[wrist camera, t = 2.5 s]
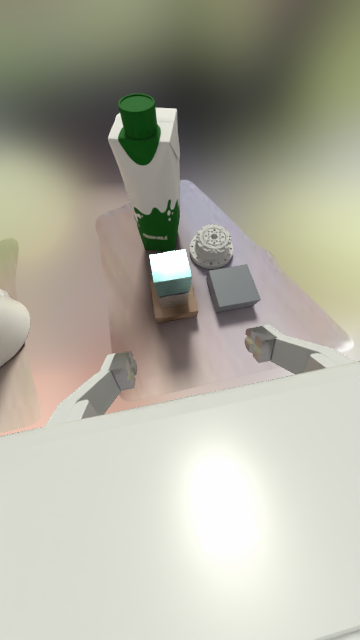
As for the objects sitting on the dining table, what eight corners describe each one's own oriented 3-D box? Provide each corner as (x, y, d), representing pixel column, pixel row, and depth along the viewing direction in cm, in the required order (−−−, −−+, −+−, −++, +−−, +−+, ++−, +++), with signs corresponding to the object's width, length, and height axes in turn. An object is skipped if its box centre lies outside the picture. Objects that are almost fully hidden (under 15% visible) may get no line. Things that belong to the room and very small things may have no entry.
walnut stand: (157, 322, 29) (155, 318, 26) (152, 288, 32) (149, 280, 29) (196, 315, 30) (198, 310, 27) (188, 282, 32) (189, 273, 29)
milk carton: (140, 252, 34) (90, 111, 15) (147, 223, 37) (111, 73, 18) (177, 255, 34) (173, 115, 15) (181, 226, 37) (182, 76, 18)
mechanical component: (187, 268, 33) (231, 271, 33) (189, 254, 29) (239, 257, 29) (190, 234, 36) (230, 236, 36) (191, 217, 32) (237, 219, 32)
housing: (161, 307, 27) (153, 282, 19) (158, 287, 28) (149, 255, 20) (188, 303, 27) (191, 276, 19) (183, 282, 28) (185, 249, 20)
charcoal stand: (215, 312, 30) (219, 306, 27) (206, 279, 32) (208, 270, 29) (253, 305, 30) (260, 299, 27) (241, 273, 33) (247, 264, 30)
